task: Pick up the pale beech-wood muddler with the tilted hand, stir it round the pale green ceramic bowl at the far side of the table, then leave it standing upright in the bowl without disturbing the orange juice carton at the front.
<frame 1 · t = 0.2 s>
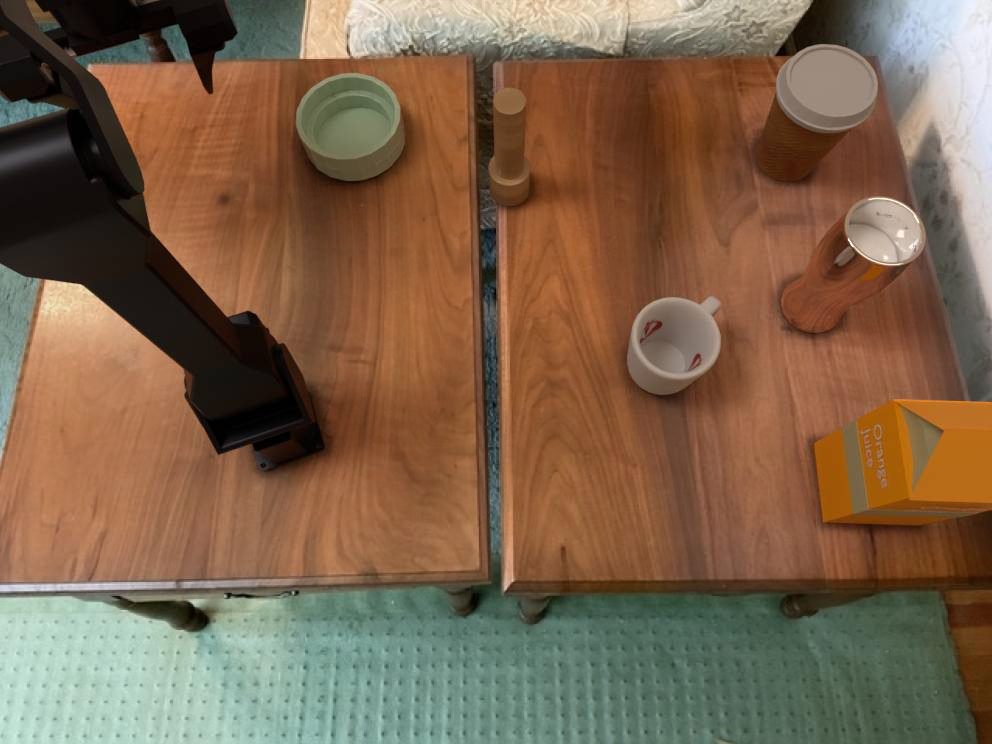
hand: (160, 104, 63), 15 cm above the table, tool pointing down, fingers open, 9 cm apart
orange juice: (864, 484, 65), on the table
disposable coffee cup: (783, 159, 77), on the table
bowl: (356, 141, 79), on the table
muddler: (509, 189, 76), on the table
beer glass: (809, 307, 72), on the table
cup: (667, 358, 70), on the table
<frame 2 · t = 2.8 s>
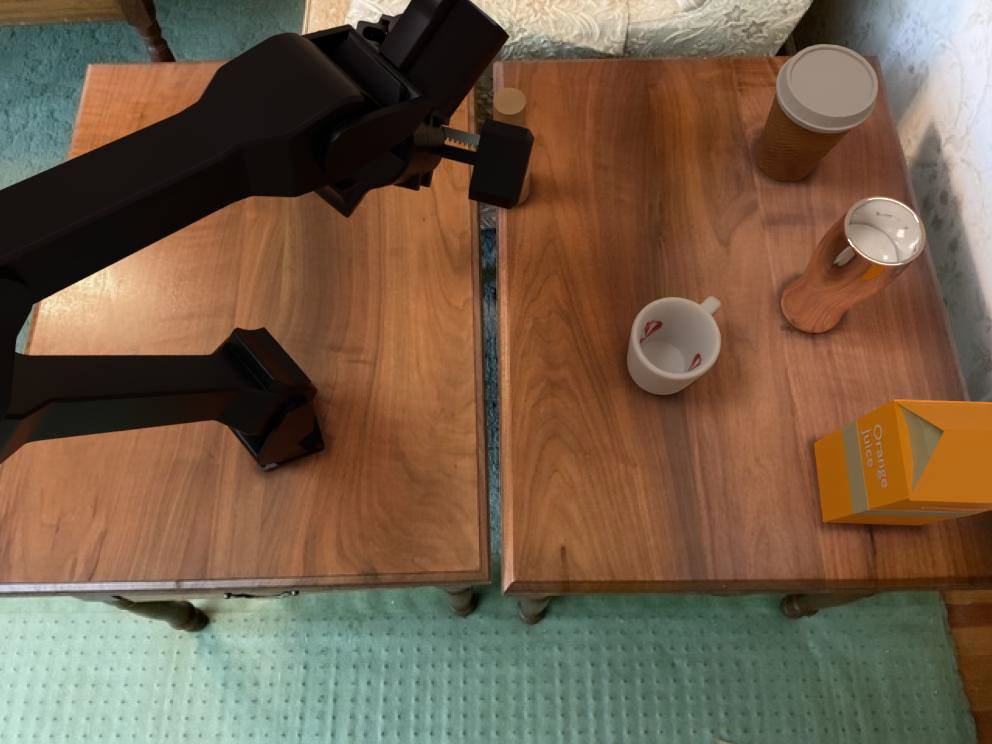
hand: (431, 142, 63), 13 cm above the table, tool tilted 40°, fingers open, 9 cm apart
nothing on the table moved.
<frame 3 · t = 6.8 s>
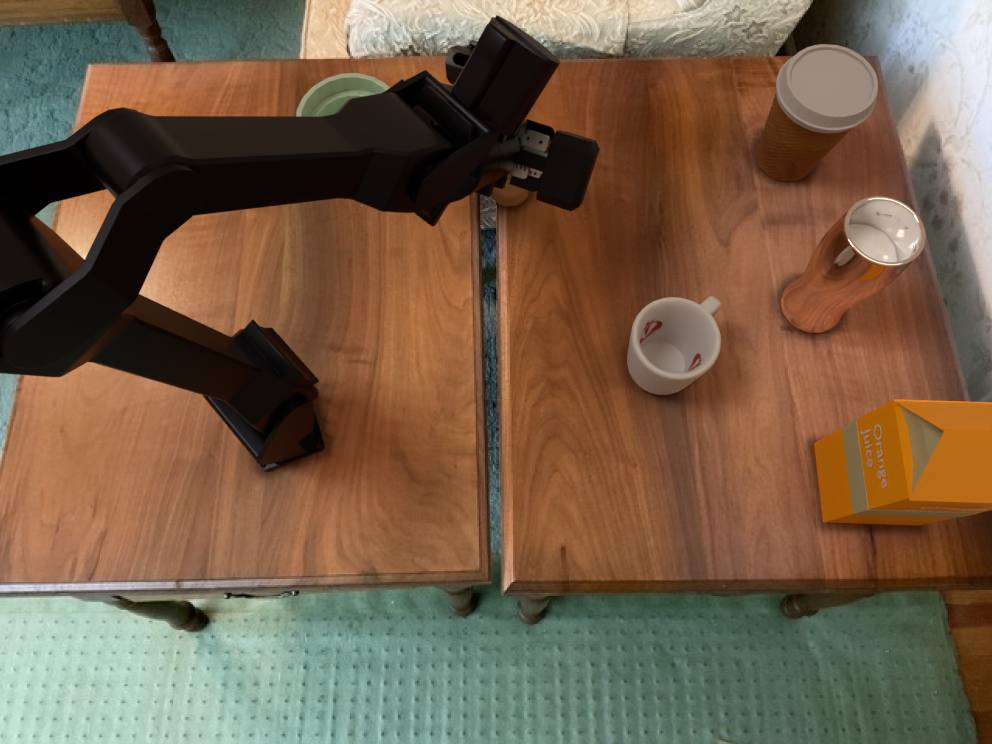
hand: (514, 137, 70), 7 cm above the table, tool tilted 45°, fingers closed on muddler, 3 cm apart
muddler: (509, 189, 76), on the table, touching gripper
everything else where it was.
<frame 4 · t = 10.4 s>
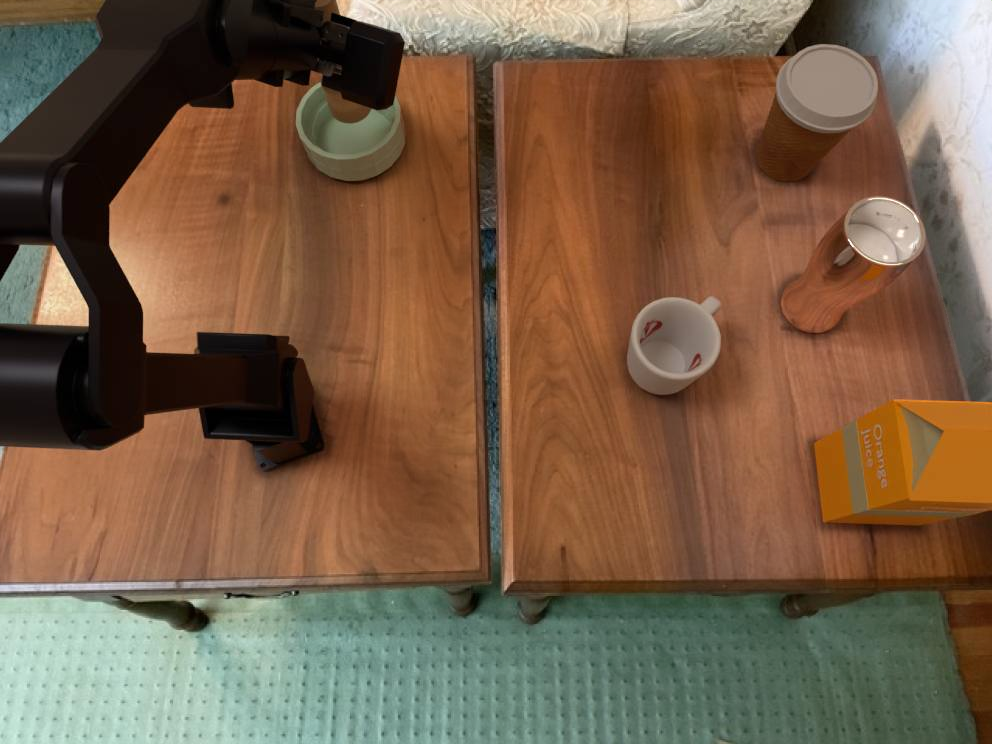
hand: (341, 44, 67), 13 cm above the table, tool tilted 45°, fingers closed on muddler, 3 cm apart
muddler: (351, 106, 73), point 6 cm above the table, touching gripper
everything else where it was.
when the fingers open (8 cm above the table, at t = 14.0 s): muddler stays where it is, resting on bowl.
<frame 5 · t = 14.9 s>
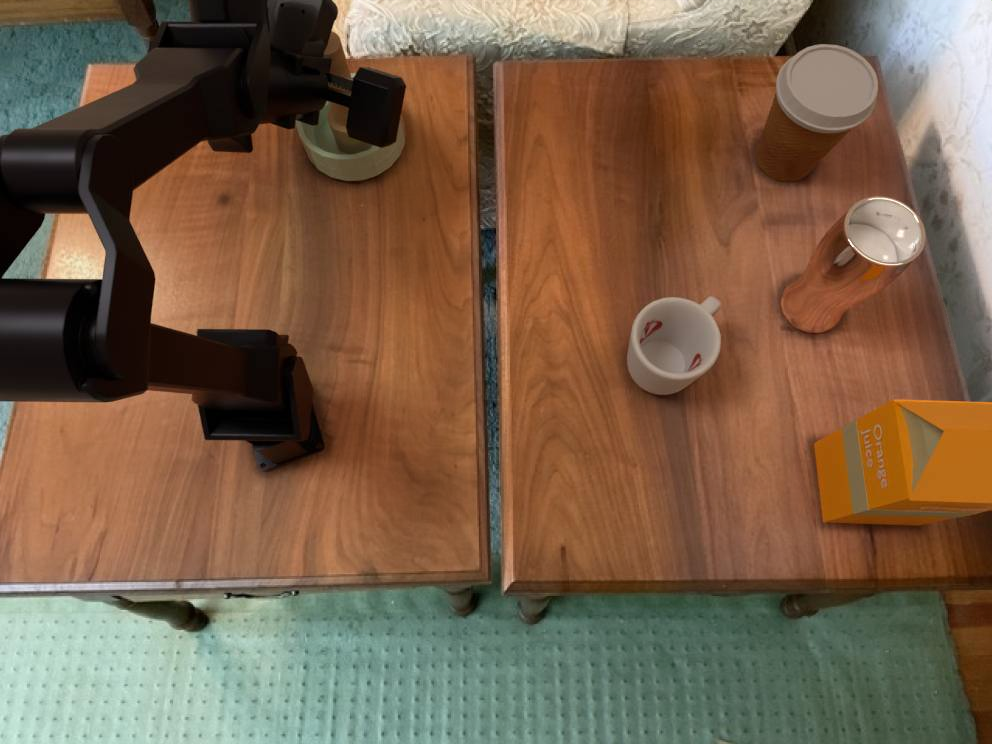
hand: (347, 82, 72), 8 cm above the table, tool tilted 45°, fingers open, 9 cm apart
muddler: (355, 138, 78), point 1 cm above the table, touching bowl
everything else where it was.
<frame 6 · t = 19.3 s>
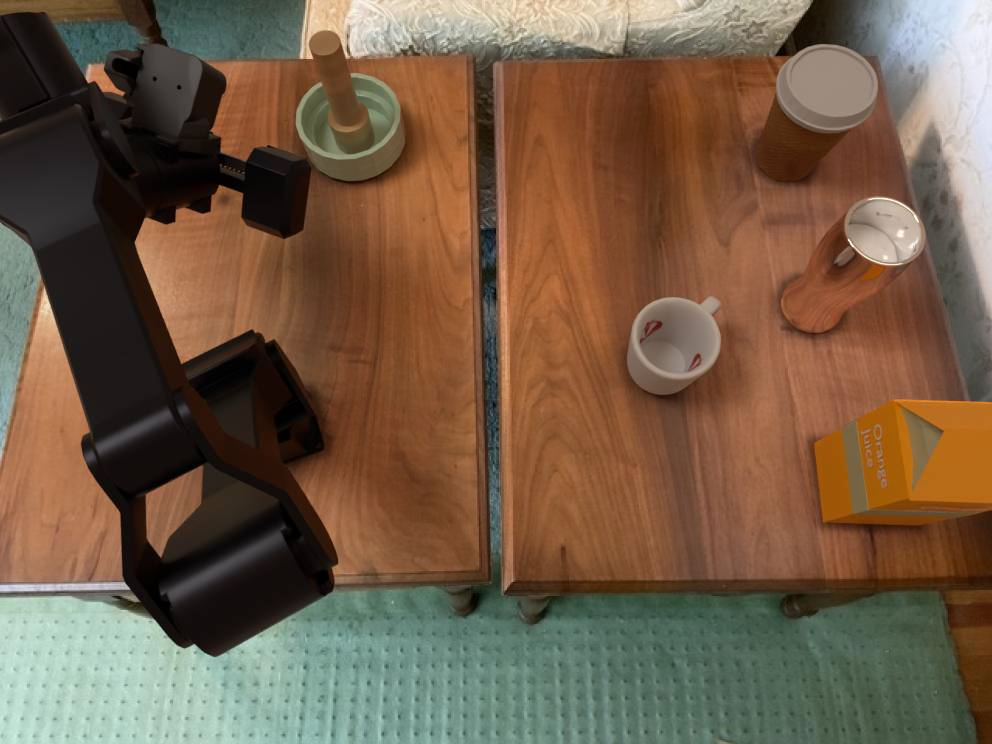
hand: (256, 152, 62), 14 cm above the table, tool tilted 45°, fingers open, 9 cm apart
nothing on the table moved.
at the end: muddler 0.1 cm off-centre in the bowl, point 0.6 cm above the bowl's base; muddler tilted 0°; orange juice moved 0.2 cm from its start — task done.
